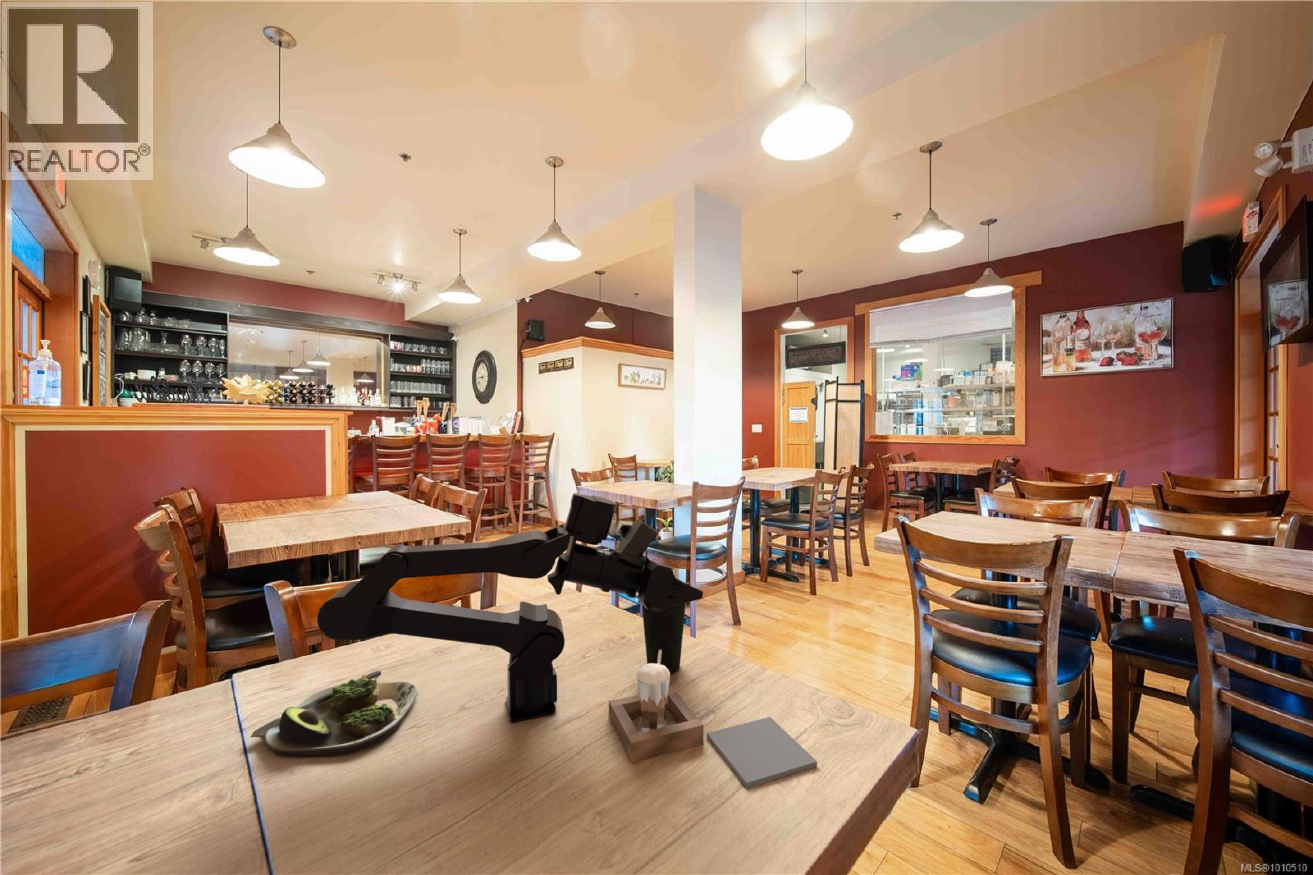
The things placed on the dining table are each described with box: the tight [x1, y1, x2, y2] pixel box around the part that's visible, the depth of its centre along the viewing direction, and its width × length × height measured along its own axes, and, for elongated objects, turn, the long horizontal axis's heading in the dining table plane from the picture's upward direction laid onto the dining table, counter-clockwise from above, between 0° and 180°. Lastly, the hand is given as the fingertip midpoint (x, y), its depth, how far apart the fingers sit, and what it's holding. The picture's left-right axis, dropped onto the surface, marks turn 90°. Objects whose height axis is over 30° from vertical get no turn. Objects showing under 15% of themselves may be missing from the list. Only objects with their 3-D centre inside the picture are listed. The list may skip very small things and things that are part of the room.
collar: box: [608, 687, 705, 763], centre depth 69 cm, size 10×10×2 cm
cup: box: [641, 603, 687, 675], centre depth 86 cm, size 8×8×12 cm
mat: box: [706, 716, 818, 789], centre depth 65 cm, size 10×10×1 cm
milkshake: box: [636, 650, 671, 733], centre depth 69 cm, size 4×5×10 cm
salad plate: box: [250, 670, 419, 759], centre depth 73 cm, size 19×18×5 cm
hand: (691, 589), depth 80 cm, fingers open, 9 cm apart
